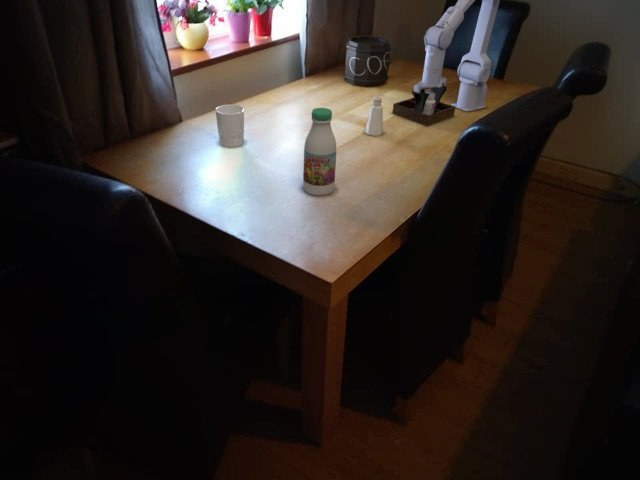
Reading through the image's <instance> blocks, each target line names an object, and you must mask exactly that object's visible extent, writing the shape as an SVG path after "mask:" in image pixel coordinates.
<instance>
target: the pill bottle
mask: <svg viewBox="0 0 640 480" xmlns="http://www.w3.org/2000/svg"><path fill="white" fill-rule="evenodd" d="M425 93H428V94H430V95H429V96H428V98H427V100H426V103H425V106H424V110H423V114H426V115H431V114H433V113H434V108H435V95H436V94H435V93H433V92H431V91H425Z"/></svg>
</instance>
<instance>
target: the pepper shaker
mask: <svg viewBox="0 0 640 480" xmlns="http://www.w3.org/2000/svg"><path fill="white" fill-rule="evenodd" d="M382 101H383V98H382V97H381V96H374V97H372V104H371V105H370V107H369V112H368V116H367V121H366V127H365V132H364V133H365V134H366V135H368V136H371V137H372V136H373V137H377V136H382V134H383V131H384V128H383V127H384V126H383V125H384V107H383V106H382Z"/></svg>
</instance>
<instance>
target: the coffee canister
mask: <svg viewBox="0 0 640 480" xmlns="http://www.w3.org/2000/svg"><path fill="white" fill-rule="evenodd" d="M345 47H346V51H345V52H346V53H345V64H344V65H345V71H344V79H346V83H347V84H350V85H353V86H354V87H355V86H357V87H362V88H363V87H364V88H375V87H381V86H382V85H385V84H386V81H388V80H389V76H388V74H389V69H390V65H391V64H392V59H391V51H392V46H391V43H390V41H389V39H388V38H385V37H382V36H375V35H357V36H356V35H354V36H351V37H349V38H348V41H346V43H345Z"/></svg>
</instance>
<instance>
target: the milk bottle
mask: <svg viewBox="0 0 640 480" xmlns="http://www.w3.org/2000/svg"><path fill="white" fill-rule="evenodd" d="M332 117H333V112H332V110H331V109H330V108H327V107H316V108H315V107H314V108H313V109H311V121H312V123H311V127H310V129H309V131H308V133H307V135H306V137H305V140H304V148H303V176H302V178H303V179H302V187H303V190H304V192H306V193H307V194H310V195H311V196H312V195H313V196H326V195H329V194H331V193H333V192H334V190H335V185H336V183H335V182H336V170H337V169H336V168H337V167H336V164H337V141H336V137H335V134H334V132H333V129H332V126H331V122H332Z"/></svg>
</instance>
